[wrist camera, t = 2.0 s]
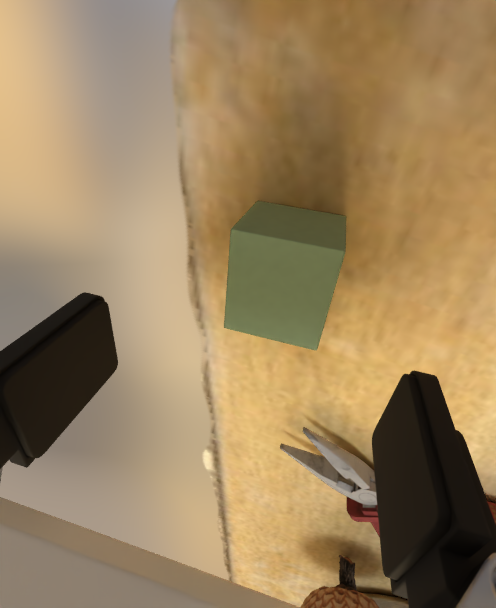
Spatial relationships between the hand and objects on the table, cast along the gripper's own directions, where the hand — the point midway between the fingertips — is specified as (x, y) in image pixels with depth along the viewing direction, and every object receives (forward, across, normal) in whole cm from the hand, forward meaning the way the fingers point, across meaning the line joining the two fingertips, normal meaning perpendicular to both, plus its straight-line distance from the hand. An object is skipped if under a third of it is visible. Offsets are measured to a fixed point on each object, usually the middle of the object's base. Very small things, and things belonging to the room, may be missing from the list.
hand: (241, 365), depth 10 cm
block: (+9, 0, 0) cm, 9 cm away
